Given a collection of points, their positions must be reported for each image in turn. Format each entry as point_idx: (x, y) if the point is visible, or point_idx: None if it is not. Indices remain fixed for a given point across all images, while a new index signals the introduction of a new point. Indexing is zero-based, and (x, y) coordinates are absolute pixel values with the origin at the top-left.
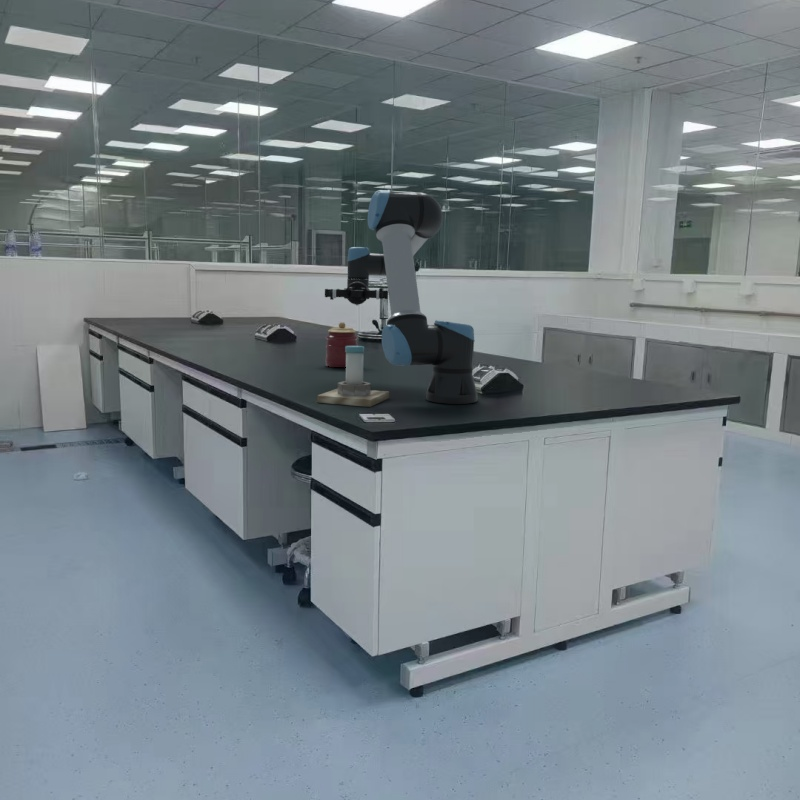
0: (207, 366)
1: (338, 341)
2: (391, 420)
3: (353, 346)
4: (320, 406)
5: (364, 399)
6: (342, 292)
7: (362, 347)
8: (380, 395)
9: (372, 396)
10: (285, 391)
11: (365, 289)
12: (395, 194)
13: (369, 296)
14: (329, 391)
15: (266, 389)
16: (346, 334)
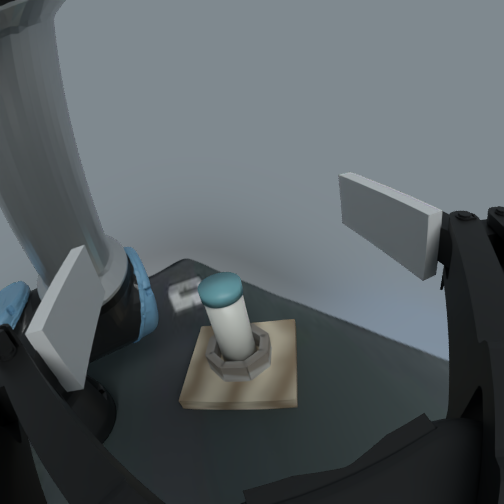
0: None
1: None
2: (172, 290)
3: (222, 284)
4: (276, 310)
5: (211, 326)
6: (460, 315)
7: (200, 283)
8: (190, 362)
9: (202, 347)
10: (416, 376)
11: (149, 500)
12: None
13: (132, 477)
14: (294, 355)
15: None
16: None
